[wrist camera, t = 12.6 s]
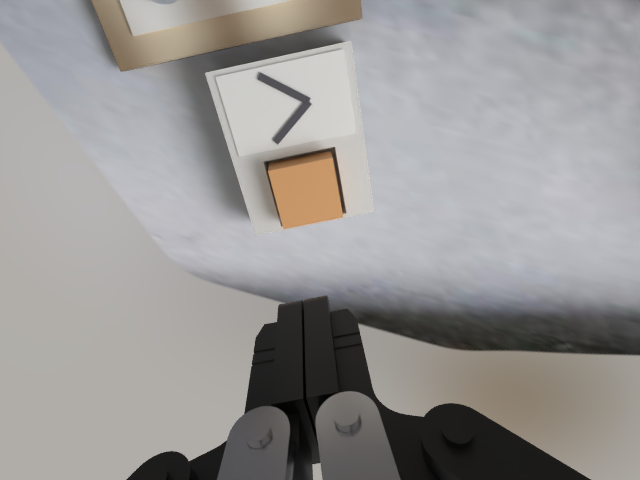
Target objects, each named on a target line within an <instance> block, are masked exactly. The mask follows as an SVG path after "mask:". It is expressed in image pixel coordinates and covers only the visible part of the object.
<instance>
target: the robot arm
mask: <svg viewBox="0 0 640 480" xmlns="http://www.w3.org/2000/svg"><path fill="white" fill-rule="evenodd" d="M316 463H321V471H322V478H323V480H590V479H589V478H587V477H585V476H584V475H582V474H580V473H579V472H577V471H575V470H574V469H572V468H570V467H569V466H567V465H565V464H564V463H562V462H560V461H559V460H557V459H555V458H554V457H552V456H550V455H549V454H547V453H545V452H544V451H542V450H540V449H539V448H537V447H536V446H534V445H532V444H531V443H529V442H527V441H525V440H524V439H522V438H521V437H519V436H517V435H516V434H514V433H512V432H511V431H509V430H507V429H506V428H504V427H502V426H501V425H499V424H497V423H496V422H494V421H492V420H491V419H489V418H487V417H486V416H484V415H482V414H480V413H479V412H477V411H476V410H474V409H472V408H470V407H467V406H464V405H460V404H453V403H449V404H442V405H439V406H436V407H434V408H433V409H431V410H430V411H429V412H428V413H426V415H425V416H424V417H419V416H412V415H405V414H400V413H397V412H394V411H392V410H390V409H388V408H387V407H385V406H384V405H383V404H382V403H381V402H380V401H379V400H378V399H377V397H376V396H375V394H374V391H373V388H372V384H371V380H370V375H369V371H368V366H367V362H366V358H365V353H364V349H363V345H362V340H361V336H360V331H359V328H358V323H357V319H356V318H355V317H354V315H353V314H352V313H351V312H350V311H349V310H348V309H343V310H338V311H333V312H331V309H330V305H329V300H328V296H322V297H316V298H311V299H306V300H304V302H303V300H301V301H296V302H290V303H285V304H280V305H279V306H278V318H277V322H275V323H270V324H264V326H263V327H262V329H261V331H260V332H259V334H258V335H257V337H256V340H255V347H254V355H253V361H252V367H251V374H250V380H249V388H248V394H247V401H246V407H245V413H244V415H243V416H242V417H240V418H239V419H238V420H237V422H236V423H235V424H234V426H233V427H232V429H231V431H230V433H229V436H228V439H227V441H226V442H224V443H223V444H221V445H220V446H218V447H217V448H215V449H213V450H211V451H209V452H207V453H205V454H203V455H201V456H199V457H197V458H195V459H193V460H191V461H188V459H187V458H186V457H185V456H184V455H183V454H181V453H179V452H173V451H170V452H164V453H160V454H158V455H156V456H154V457H152V458H150V459H149V460H147V461H146V462H145V463H143V464H142V465H141V466H140V467H139V468H138V469H137V470H136V471H135V472H134V473H133V474H132V475H131V476H130V477H129V478H128V479H127V480H313V470H312V464H316Z"/></svg>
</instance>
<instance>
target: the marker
mask: <svg viewBox="0 0 640 480" xmlns="http://www.w3.org/2000/svg"><path fill="white" fill-rule="evenodd" d="M150 1H152V2H155V3H158V4H171V3H174V2H176V1H178V0H150Z"/></svg>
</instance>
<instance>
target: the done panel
mask: <svg viewBox="0 0 640 480" xmlns="http://www.w3.org/2000/svg"><path fill="white" fill-rule="evenodd" d="M205 75H206V78H207V82H208V85H209V88H210V91H211V94H212V98H213V101H214V104H215V107H216V110H217V114H218V117H219V120H220V123H221V127H222V130H223V133H224V136H225V139H226V143H227V146H228V149H229V152H230V156H231V159H232V162H233V165H234V168H235V172H236V175H237V178H238V181H239V184H240V188H241V191H242V194H243V197H244V201H245V204H246V207H247V210H248V213H249V217H250V220H251V223H252V226H253V230H254V233H255V236H257V235H262V234H267V233H272V232H277V231H282V230H287V229H283V225H282V222H281V218H280V214H279V211H278V207H277V203H276V199H275V196H274V192H273V188H272V184H271V181H270V177H269V173H268V169H269V165H270V163H272V162H277V161H282V160H287V159H291V158H296V157H301V156H306V155H311V154H315V153H320V152H325V151H331V154H332V157H333V162H334V168H335V173H336V179H337V184H338V190H339V196H340V201H341V207H342V212H343V218H347V217H352V216H357V215H362V214H367V213H372V212H374V206H373V198H372V191H371V184H370V176H369V169H368V161H367V154H366V146H365V139H364V131H363V124H362V116H361V109H360V102H359V94H358V87H357V79H356V72H355V64H354V57H353V49H352V42H351V41H347V42H343V43H338V44H334V45H329V46H325V47H320V48H315V49H311V50H306V51H302V52H297V53H293V54H288V55H284V56H279V57H274V58H270V59H265V60H261V61H256V62H252V63H247V64H243V65H238V66H233V67H229V68H224V69H220V70H215V71H211V72H206V73H205ZM338 219H342V218H338ZM333 220H337V219H333ZM328 221H332V220H328ZM323 222H327V221H323ZM318 223H322V222H318ZM313 224H317V223H313ZM308 225H312V224H308ZM303 226H307V225H303ZM298 227H302V226H298ZM293 228H297V227H293ZM288 229H292V228H288Z"/></svg>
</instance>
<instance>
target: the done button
mask: <svg viewBox="0 0 640 480" xmlns="http://www.w3.org/2000/svg"><path fill="white" fill-rule="evenodd" d="M268 173H269V177H270V181H271V184H272V188H273V192H274V196H275V199H276V203H277V207H278V211H279V214H280V218H281V222H282V225H283V229H288V228H293V227H298V226H303V225H308V224H313V223H318V222H323V221H328V220H333V219H338V218H343V212H342V207H341V201H340V196H339V190H338V184H337V179H336V173H335V168H334V162H333V157H332V154H331V151H325V152H320V153H315V154H311V155H306V156H301V157H296V158H291V159H287V160H282V161H277V162H272V163H270V165H269V169H268Z"/></svg>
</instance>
